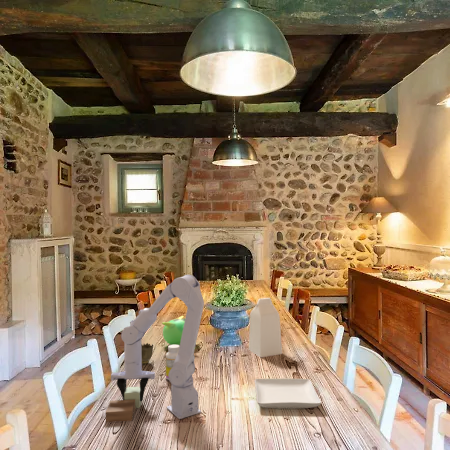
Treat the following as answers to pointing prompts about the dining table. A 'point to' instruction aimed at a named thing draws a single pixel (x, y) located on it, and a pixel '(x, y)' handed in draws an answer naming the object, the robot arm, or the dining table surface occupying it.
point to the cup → (146, 353)
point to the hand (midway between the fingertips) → (133, 400)
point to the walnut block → (120, 410)
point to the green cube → (133, 395)
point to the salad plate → (286, 393)
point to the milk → (265, 329)
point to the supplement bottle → (171, 358)
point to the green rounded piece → (173, 330)
